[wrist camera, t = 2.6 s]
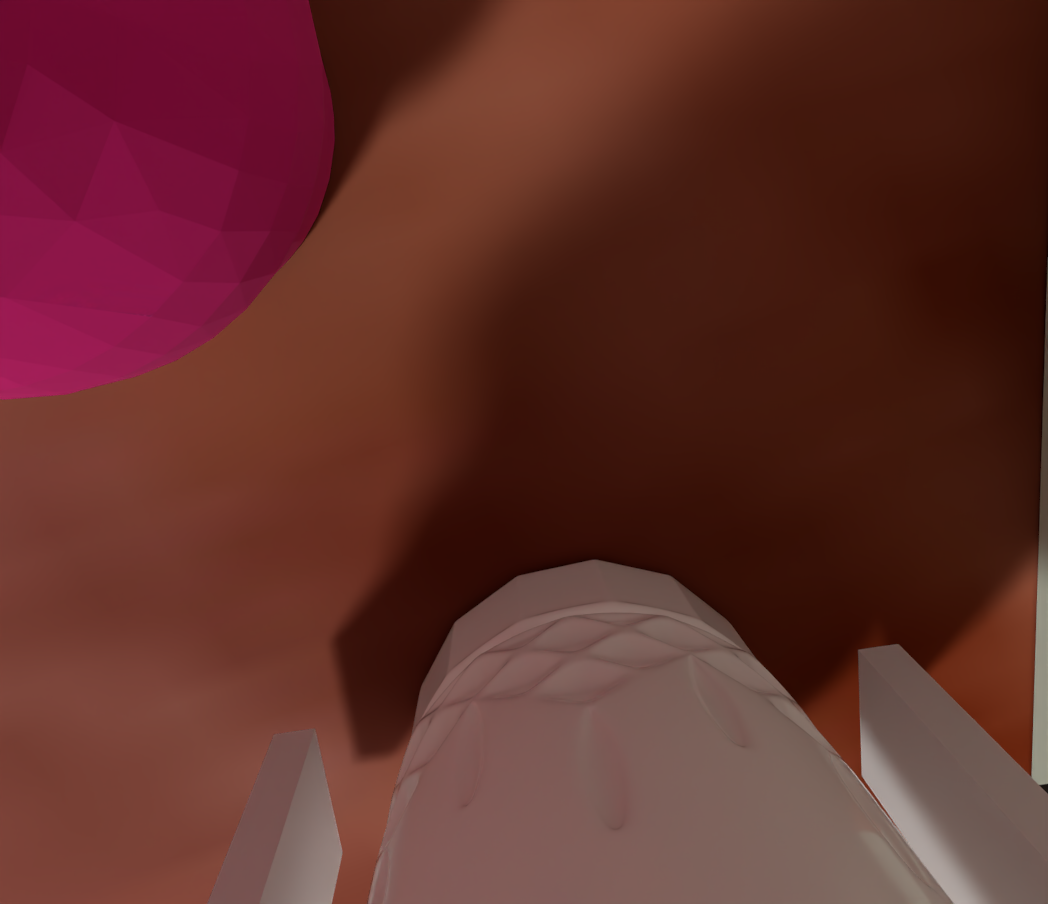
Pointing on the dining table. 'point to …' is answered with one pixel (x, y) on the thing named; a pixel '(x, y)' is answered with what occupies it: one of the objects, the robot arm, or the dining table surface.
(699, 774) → the white cup
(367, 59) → the dining table surface
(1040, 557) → the caddy
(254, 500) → the dining table surface
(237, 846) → the robot arm
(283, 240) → the pepper mill
